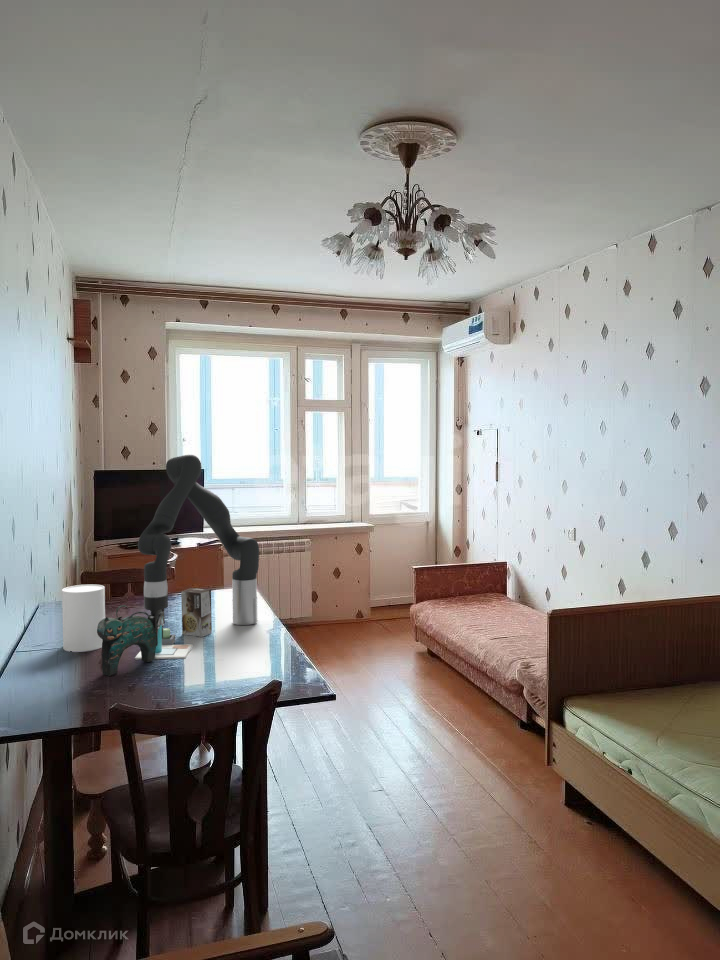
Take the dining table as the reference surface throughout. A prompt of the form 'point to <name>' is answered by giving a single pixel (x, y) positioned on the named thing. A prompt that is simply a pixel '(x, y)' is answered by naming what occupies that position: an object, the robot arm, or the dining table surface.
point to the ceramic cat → (125, 639)
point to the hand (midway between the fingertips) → (156, 642)
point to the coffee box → (196, 612)
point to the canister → (82, 616)
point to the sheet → (171, 652)
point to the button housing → (169, 640)
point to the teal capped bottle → (159, 639)
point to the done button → (166, 633)
